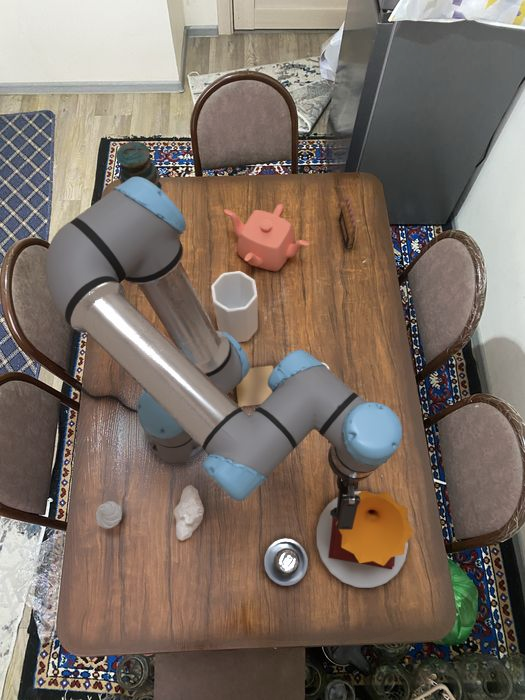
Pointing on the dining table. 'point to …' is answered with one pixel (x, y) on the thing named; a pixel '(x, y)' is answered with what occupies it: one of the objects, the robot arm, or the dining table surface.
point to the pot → (265, 238)
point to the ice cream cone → (108, 514)
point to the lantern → (137, 163)
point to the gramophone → (365, 541)
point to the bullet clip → (348, 223)
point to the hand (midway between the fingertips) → (336, 476)
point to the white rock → (188, 513)
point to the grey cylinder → (269, 562)
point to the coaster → (254, 387)
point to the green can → (286, 561)
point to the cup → (236, 305)
